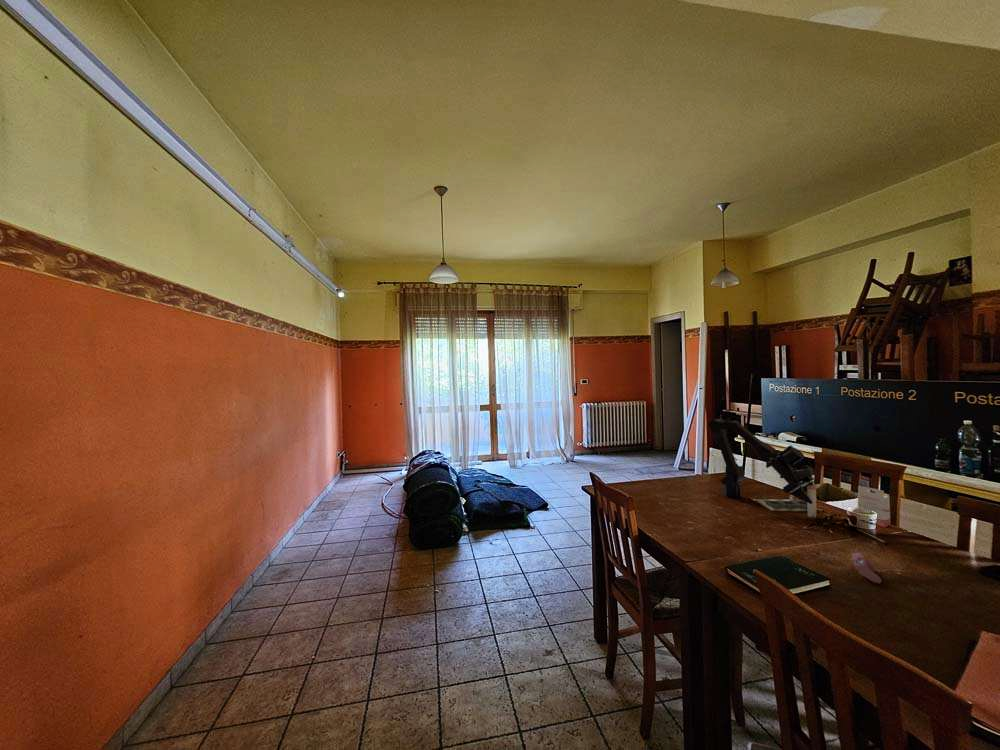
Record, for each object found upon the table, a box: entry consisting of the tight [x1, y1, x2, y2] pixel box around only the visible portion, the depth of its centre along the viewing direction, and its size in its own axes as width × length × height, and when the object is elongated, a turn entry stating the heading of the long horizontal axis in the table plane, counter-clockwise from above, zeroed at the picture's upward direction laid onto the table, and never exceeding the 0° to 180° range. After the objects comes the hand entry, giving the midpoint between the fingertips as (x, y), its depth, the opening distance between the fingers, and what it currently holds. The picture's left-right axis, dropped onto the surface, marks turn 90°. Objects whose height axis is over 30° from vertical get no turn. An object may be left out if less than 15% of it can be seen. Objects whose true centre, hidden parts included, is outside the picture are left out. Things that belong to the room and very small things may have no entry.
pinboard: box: [756, 494, 808, 512], centre depth 173 cm, size 19×12×4 cm, turn 84°
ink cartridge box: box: [857, 485, 891, 528], centre depth 153 cm, size 9×5×15 cm, turn 25°
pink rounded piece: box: [850, 552, 882, 584], centre depth 116 cm, size 10×5×7 cm, turn 141°
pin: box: [806, 485, 817, 518], centre depth 161 cm, size 3×3×13 cm
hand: (815, 501), depth 160 cm, fingers open, 8 cm apart
